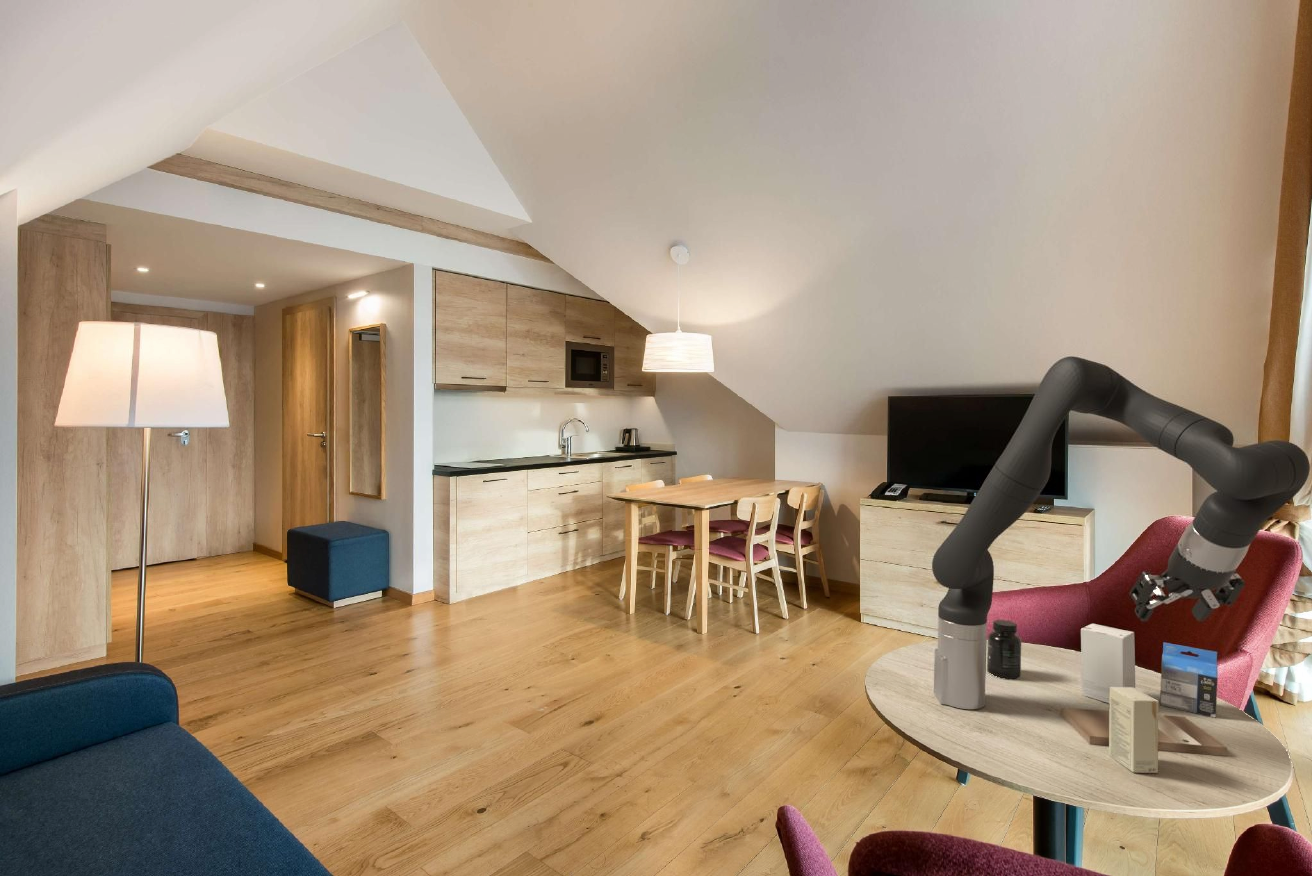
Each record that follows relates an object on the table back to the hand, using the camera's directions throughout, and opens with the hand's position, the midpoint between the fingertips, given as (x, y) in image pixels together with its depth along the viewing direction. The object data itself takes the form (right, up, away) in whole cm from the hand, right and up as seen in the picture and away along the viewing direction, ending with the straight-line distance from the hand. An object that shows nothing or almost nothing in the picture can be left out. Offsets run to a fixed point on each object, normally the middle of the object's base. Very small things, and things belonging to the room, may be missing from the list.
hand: (1168, 616), depth 108 cm
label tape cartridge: (+23, -26, +25) cm, 43 cm away
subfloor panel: (+5, -26, +14) cm, 30 cm away
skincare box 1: (+10, -26, +29) cm, 40 cm away
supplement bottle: (-5, -25, +42) cm, 49 cm away
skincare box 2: (-4, -26, +3) cm, 27 cm away
